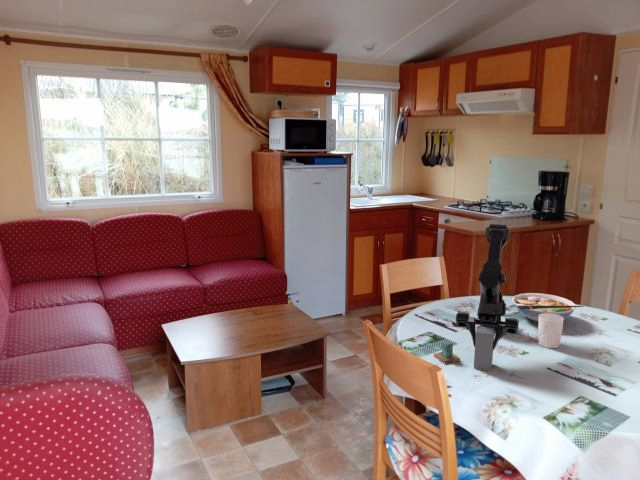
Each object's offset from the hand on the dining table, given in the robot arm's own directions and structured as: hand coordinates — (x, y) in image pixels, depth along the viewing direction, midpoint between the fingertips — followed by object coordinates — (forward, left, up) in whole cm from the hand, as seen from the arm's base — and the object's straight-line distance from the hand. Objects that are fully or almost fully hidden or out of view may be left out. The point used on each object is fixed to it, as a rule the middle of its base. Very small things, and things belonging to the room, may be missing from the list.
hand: (483, 348), depth 156 cm
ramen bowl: (-37, -40, -7) cm, 54 cm away
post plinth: (+9, -7, -7) cm, 13 cm away
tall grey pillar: (-1, -1, -7) cm, 7 cm away
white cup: (-29, -17, -7) cm, 34 cm away
